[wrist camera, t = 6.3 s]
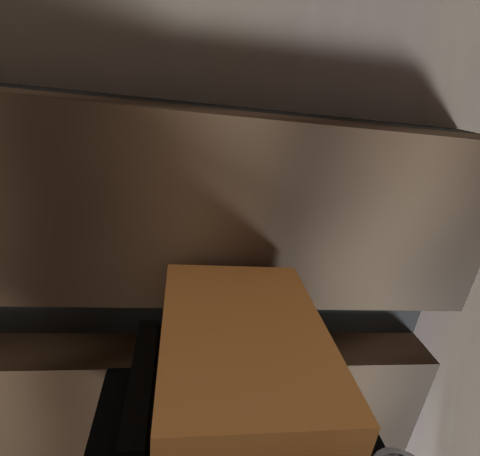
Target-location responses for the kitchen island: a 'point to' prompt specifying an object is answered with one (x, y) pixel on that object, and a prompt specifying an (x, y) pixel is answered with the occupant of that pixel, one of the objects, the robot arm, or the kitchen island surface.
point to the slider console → (217, 240)
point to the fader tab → (252, 370)
